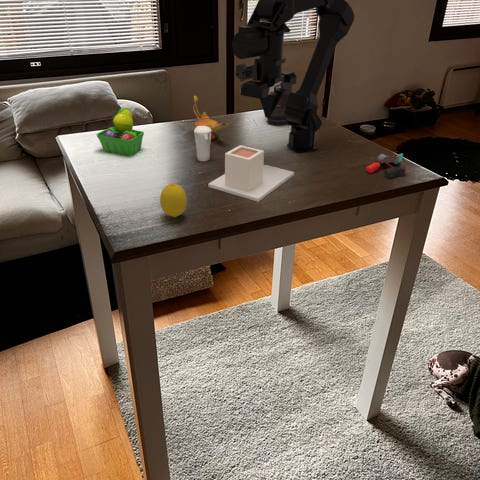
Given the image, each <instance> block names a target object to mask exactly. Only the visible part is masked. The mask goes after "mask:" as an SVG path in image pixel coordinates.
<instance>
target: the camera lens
mask: <svg viewBox="0 0 480 480" xmlns="http://www.w3.org/2000/svg"><path fill="white" fill-rule="evenodd" d="M280 85H281V88H283V89H285V92H284V93H283V94H282V96H281V98H280V100H279V101H278V103H277V105H276V107H275V109H274V111H273V113H272V115H271V117H270V118H266V119H267V120H266V121H267V124H269V125H270V126H280V127H281V126H285V125H286V126H287V122H286V117H285V114H284V111H285V104H286V103H287V101H288V97H289V94H290V93H291V92H293V85H289V83H288V82H282V83H280Z"/></svg>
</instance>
